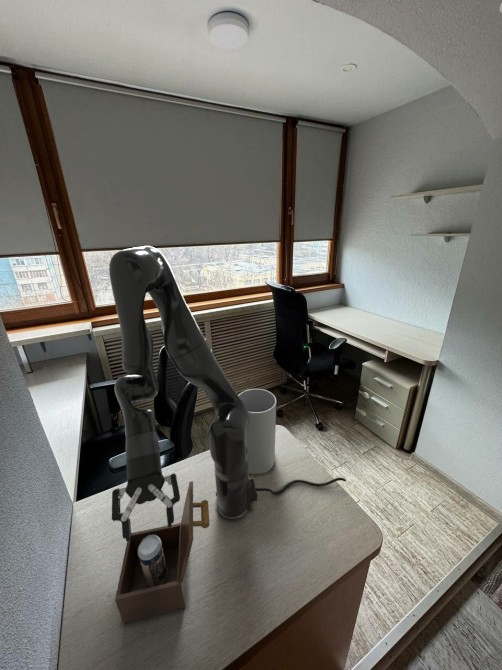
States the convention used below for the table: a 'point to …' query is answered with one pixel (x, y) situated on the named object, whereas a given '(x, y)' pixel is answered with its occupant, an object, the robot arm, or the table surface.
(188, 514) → the chest lid
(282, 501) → the table surface
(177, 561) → the chest
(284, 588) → the table surface
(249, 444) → the cylinder vase
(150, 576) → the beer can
